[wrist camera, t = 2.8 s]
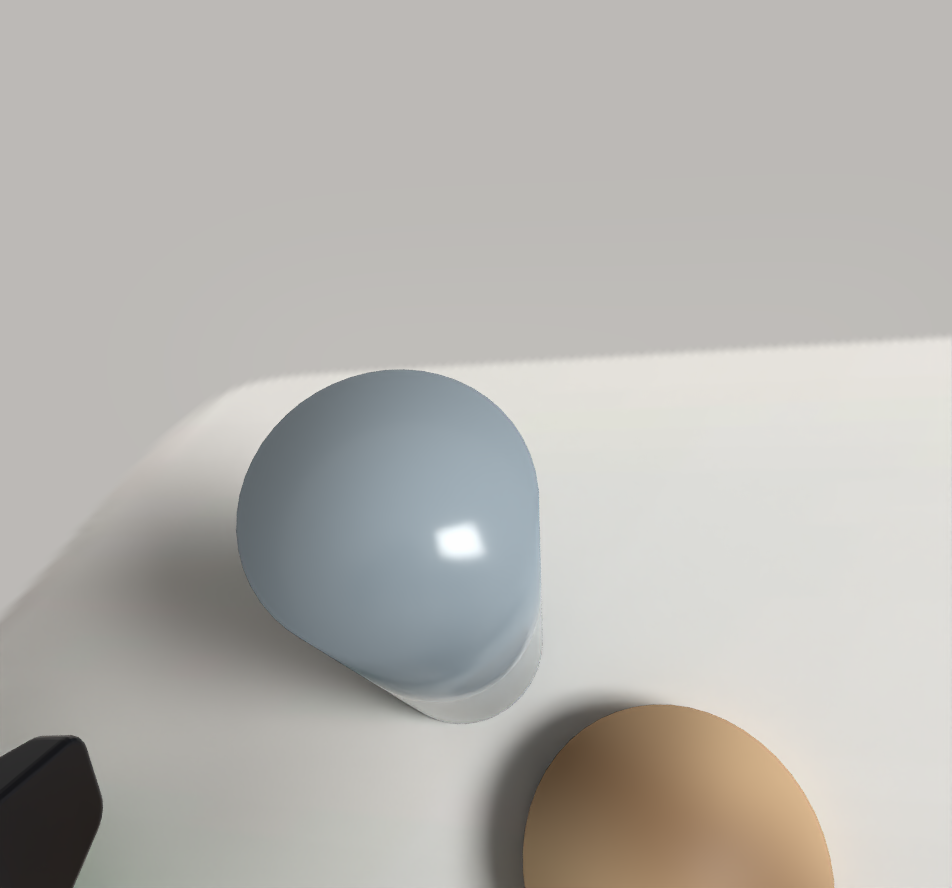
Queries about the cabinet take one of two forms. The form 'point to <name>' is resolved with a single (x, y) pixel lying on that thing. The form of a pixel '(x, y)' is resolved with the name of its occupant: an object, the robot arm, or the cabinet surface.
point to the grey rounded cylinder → (402, 539)
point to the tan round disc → (671, 809)
